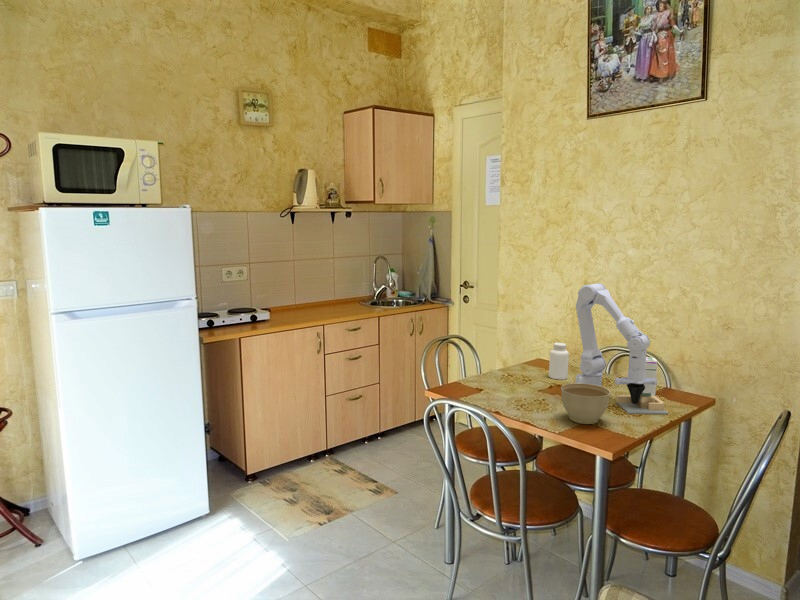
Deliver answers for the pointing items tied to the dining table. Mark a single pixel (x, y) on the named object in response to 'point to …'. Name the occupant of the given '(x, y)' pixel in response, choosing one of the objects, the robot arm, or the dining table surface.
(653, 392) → the syrup box
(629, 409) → the wall board
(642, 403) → the cabinet block
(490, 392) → the dining table surface
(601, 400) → the planter bowl
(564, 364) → the pill bottle
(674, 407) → the dining table surface
